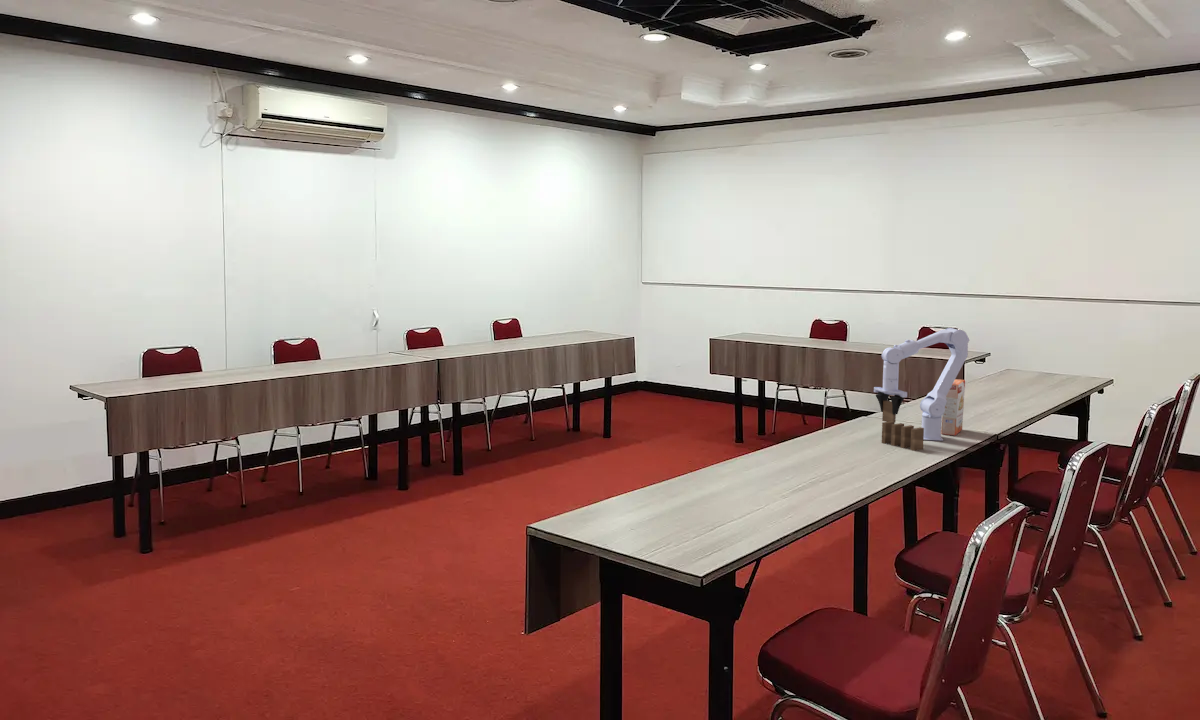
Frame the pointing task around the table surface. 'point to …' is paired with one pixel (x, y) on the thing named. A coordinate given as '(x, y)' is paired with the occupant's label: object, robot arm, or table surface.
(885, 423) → the domino
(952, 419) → the cracker box
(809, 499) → the table surface
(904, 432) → the domino
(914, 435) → the domino
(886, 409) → the domino
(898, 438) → the domino
